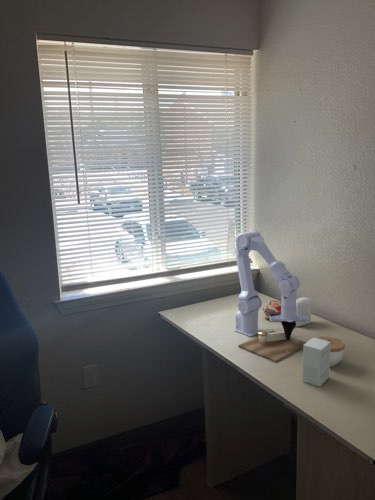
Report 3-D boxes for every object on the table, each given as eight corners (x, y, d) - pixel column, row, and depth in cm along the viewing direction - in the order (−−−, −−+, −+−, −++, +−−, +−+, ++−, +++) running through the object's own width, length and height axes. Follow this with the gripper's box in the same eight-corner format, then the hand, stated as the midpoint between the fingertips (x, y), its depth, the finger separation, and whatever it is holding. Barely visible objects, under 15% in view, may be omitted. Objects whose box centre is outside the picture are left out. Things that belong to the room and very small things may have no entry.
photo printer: (304, 320, 190) (305, 294, 188) (312, 323, 186) (313, 297, 184) (289, 325, 184) (290, 298, 182) (296, 328, 181) (297, 301, 178)
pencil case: (293, 311, 202) (293, 301, 201) (275, 323, 187) (275, 313, 186) (273, 307, 209) (273, 297, 208) (254, 318, 194) (254, 308, 193)
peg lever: (260, 344, 162) (260, 334, 161) (256, 340, 166) (256, 331, 165) (292, 340, 165) (292, 330, 165) (287, 336, 169) (287, 327, 168)
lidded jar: (349, 368, 144) (351, 343, 142) (320, 370, 143) (322, 345, 141) (334, 354, 155) (335, 331, 153) (307, 357, 153) (308, 333, 151)
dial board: (238, 347, 163) (238, 344, 162) (272, 332, 177) (272, 329, 177) (275, 362, 149) (275, 359, 149) (309, 344, 163) (309, 342, 163)
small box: (311, 371, 142) (313, 336, 139) (329, 377, 138) (331, 341, 135) (301, 381, 136) (302, 344, 133) (319, 387, 132) (321, 349, 129)
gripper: (272, 310, 158) (271, 342, 160) (309, 309, 157) (308, 342, 160) (268, 304, 164) (268, 335, 167) (304, 303, 164) (303, 335, 167)
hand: (287, 338), depth 164 cm, fingers closed
